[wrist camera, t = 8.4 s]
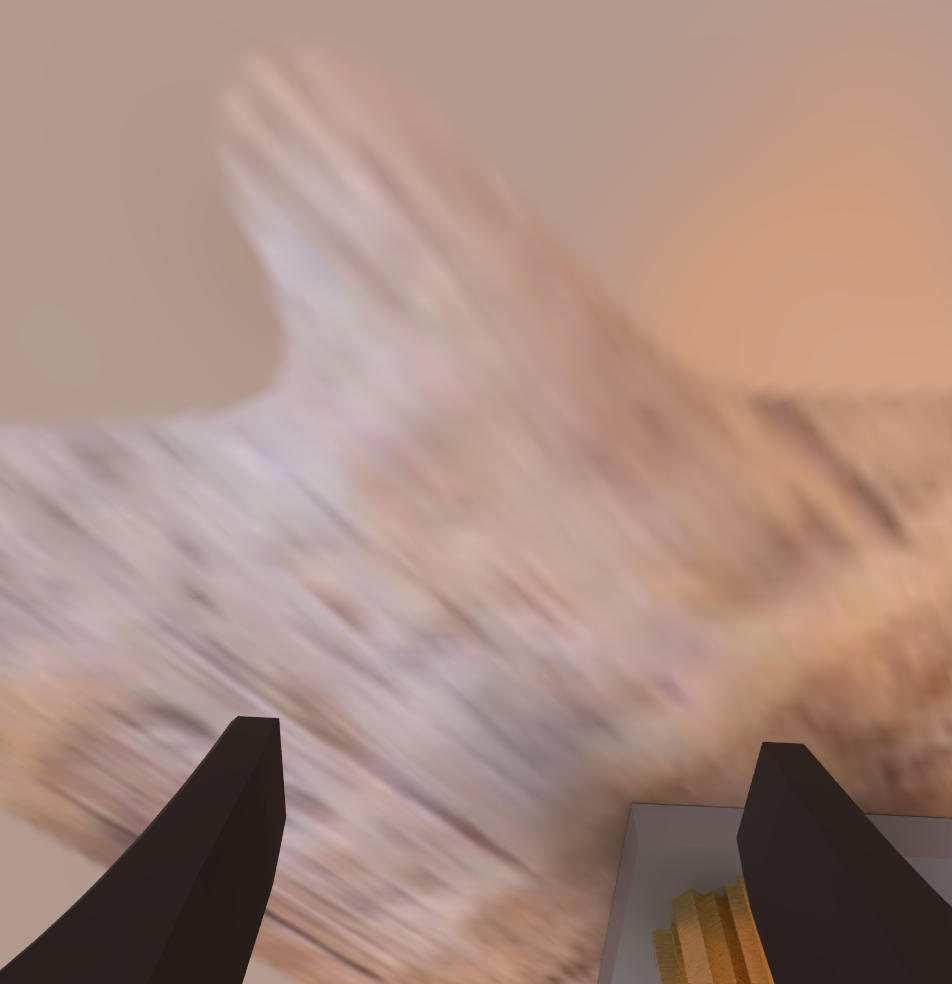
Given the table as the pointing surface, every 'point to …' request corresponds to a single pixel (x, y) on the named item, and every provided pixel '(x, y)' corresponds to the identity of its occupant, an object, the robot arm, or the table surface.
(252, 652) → the table surface
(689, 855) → the gear board
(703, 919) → the brass gear
